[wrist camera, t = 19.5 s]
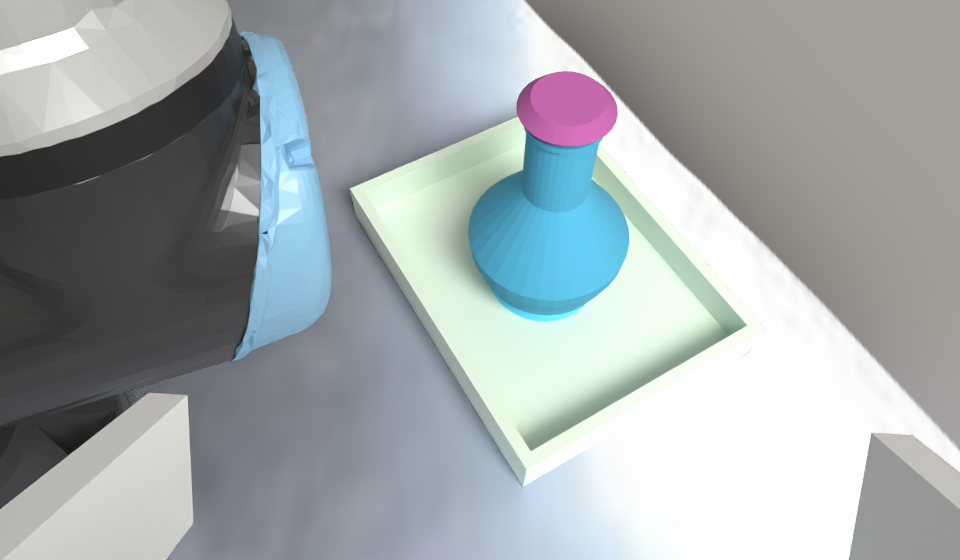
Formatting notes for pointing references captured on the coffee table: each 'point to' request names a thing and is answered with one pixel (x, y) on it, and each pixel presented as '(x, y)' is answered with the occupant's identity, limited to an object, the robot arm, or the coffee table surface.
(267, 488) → the coffee table surface
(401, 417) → the coffee table surface
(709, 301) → the parts tray
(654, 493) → the coffee table surface
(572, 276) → the perfume bottle
